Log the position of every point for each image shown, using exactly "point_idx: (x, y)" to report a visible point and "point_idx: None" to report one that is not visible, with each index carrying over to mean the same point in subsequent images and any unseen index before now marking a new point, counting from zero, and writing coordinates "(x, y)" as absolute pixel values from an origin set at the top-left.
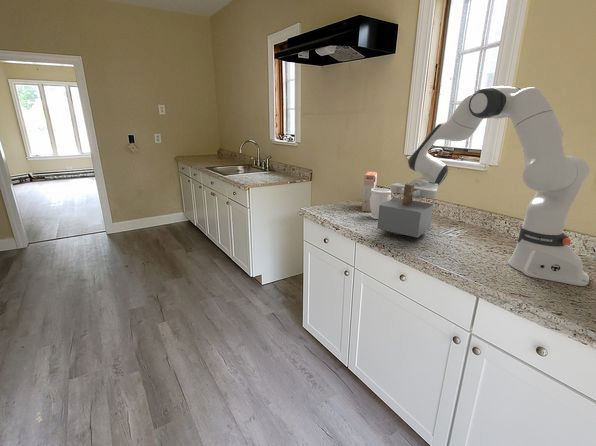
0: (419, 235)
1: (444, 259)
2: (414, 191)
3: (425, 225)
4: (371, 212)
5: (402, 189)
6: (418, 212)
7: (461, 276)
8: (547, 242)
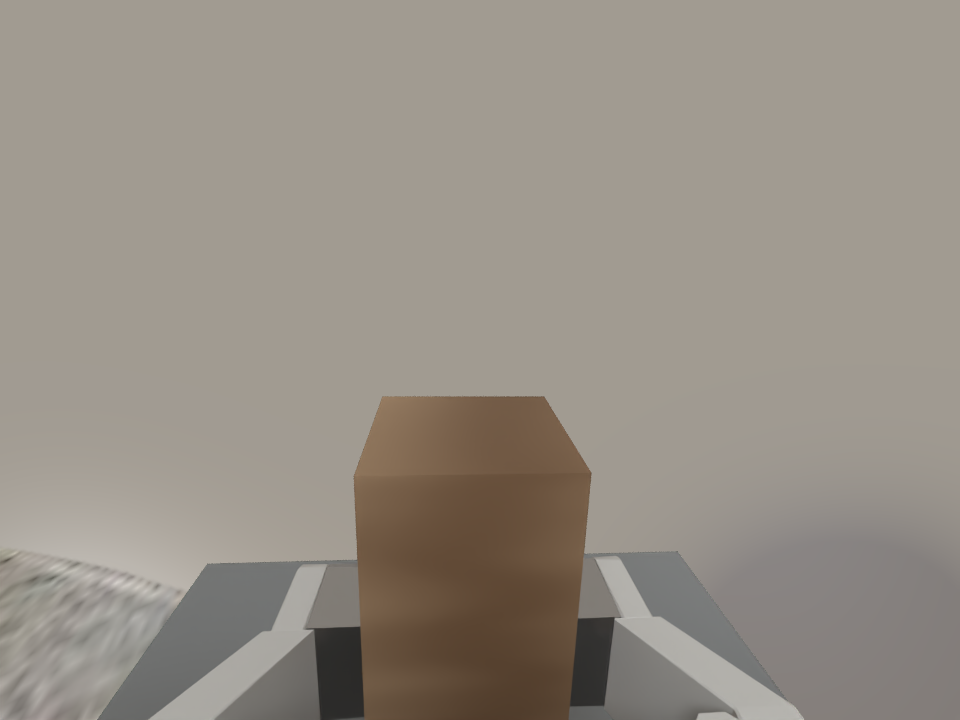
0: None
1: (63, 687)
2: (318, 605)
3: None
4: None
5: (672, 626)
6: (235, 565)
7: (57, 565)
8: None
